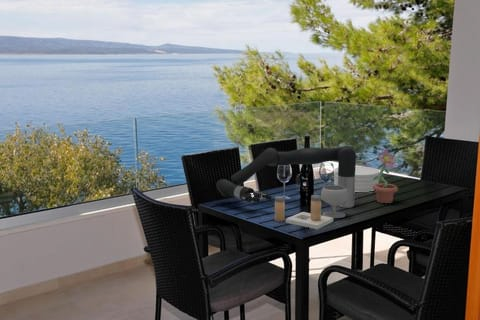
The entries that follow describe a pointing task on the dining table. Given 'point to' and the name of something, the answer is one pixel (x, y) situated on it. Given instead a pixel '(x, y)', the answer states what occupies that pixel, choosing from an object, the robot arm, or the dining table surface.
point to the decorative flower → (384, 189)
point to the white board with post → (311, 216)
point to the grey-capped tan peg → (279, 208)
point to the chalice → (334, 199)
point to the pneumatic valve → (299, 179)
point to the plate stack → (362, 178)
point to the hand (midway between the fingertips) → (265, 199)
